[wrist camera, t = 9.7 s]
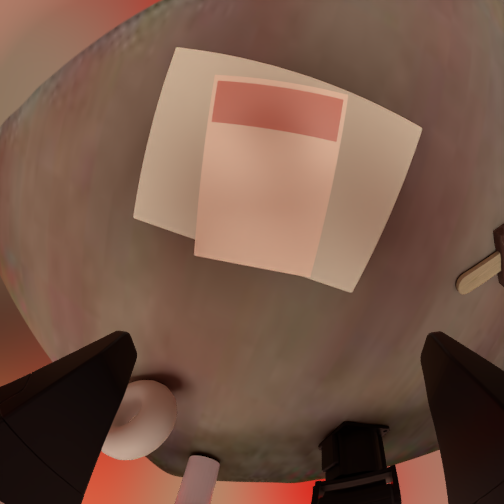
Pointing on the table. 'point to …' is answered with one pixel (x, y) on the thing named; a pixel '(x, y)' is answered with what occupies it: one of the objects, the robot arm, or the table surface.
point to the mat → (345, 178)
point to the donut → (141, 421)
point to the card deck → (267, 172)
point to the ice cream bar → (485, 267)
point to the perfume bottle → (198, 481)
